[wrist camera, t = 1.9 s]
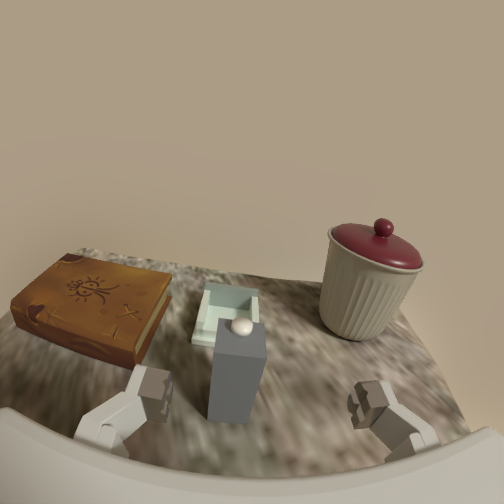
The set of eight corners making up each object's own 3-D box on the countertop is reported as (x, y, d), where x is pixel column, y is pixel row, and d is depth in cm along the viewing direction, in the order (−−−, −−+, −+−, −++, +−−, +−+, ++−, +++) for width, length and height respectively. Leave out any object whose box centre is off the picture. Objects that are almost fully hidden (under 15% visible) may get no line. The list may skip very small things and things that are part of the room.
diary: (18, 331, 30) (8, 302, 28) (71, 278, 48) (67, 253, 45) (137, 375, 31) (131, 345, 29) (171, 300, 49) (171, 273, 46)
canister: (295, 295, 56) (320, 196, 48) (367, 299, 59) (398, 212, 51) (319, 357, 40) (365, 230, 32) (405, 351, 43) (454, 248, 34)
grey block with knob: (207, 420, 27) (214, 345, 22) (210, 388, 32) (219, 311, 27) (246, 424, 27) (268, 352, 22) (246, 392, 32) (265, 317, 27)
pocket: (191, 343, 39) (192, 318, 37) (201, 302, 49) (203, 279, 47) (258, 352, 39) (264, 327, 37) (256, 310, 49) (261, 287, 48)
